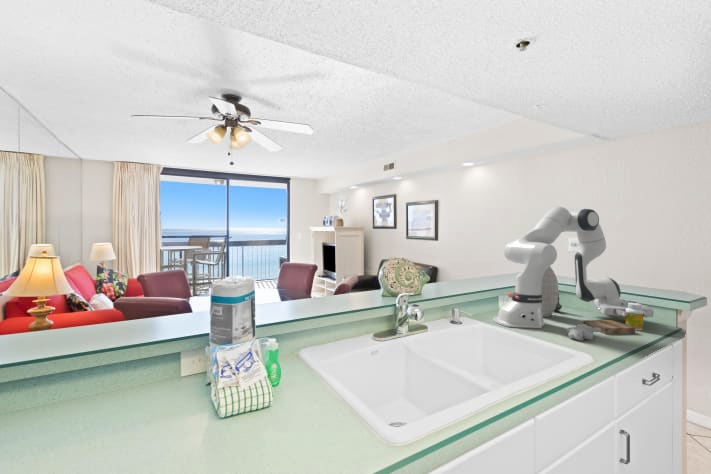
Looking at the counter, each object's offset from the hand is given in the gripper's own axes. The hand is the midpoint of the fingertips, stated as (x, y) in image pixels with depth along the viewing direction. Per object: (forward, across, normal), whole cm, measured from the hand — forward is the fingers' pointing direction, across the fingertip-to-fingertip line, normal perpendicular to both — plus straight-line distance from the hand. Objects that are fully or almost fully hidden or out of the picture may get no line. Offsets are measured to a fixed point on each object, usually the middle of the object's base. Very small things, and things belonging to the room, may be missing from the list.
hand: (636, 314), depth 146 cm
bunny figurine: (+17, -28, +7) cm, 34 cm away
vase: (-16, -33, +7) cm, 37 cm away
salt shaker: (-26, -23, +7) cm, 36 cm away
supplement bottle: (-1, 0, +7) cm, 7 cm away
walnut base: (+3, -12, +7) cm, 14 cm away
